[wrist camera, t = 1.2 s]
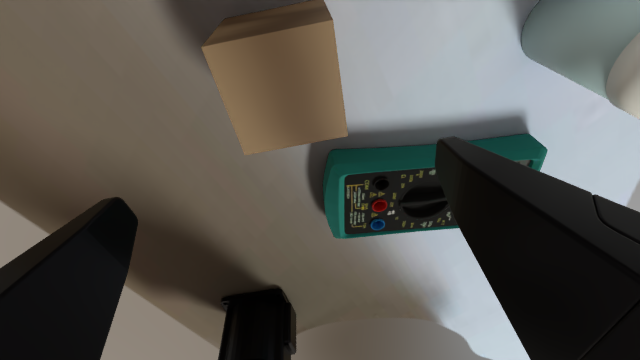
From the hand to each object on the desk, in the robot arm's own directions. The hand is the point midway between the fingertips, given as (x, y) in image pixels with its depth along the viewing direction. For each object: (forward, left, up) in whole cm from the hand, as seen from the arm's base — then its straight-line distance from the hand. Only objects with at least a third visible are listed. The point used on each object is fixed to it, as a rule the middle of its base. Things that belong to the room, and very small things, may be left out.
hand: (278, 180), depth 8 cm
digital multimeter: (+8, -11, -11) cm, 17 cm away
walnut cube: (0, 0, -11) cm, 11 cm away
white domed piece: (+15, -1, -10) cm, 18 cm away
